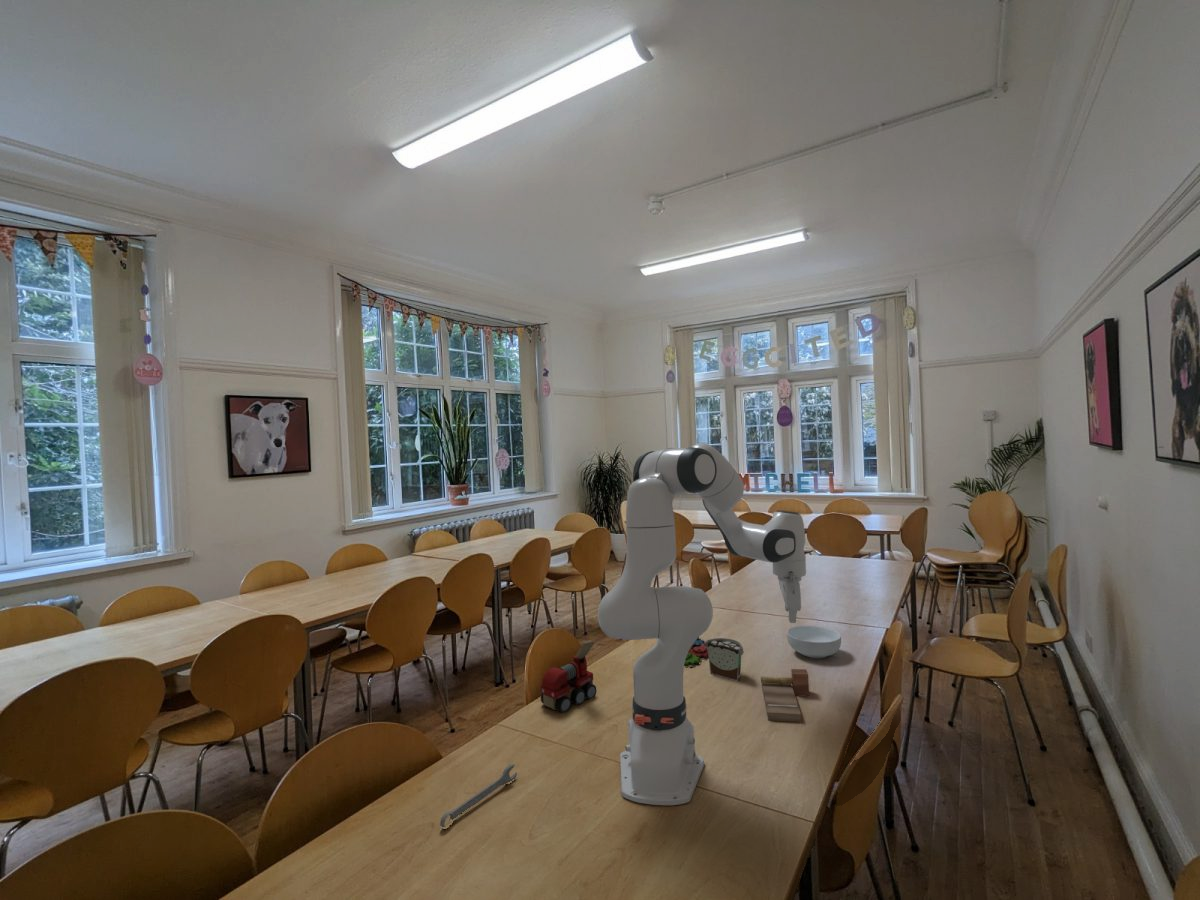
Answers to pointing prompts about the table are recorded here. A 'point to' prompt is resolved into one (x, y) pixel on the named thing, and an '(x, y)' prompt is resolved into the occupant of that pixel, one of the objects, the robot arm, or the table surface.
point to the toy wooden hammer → (792, 681)
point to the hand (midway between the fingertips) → (790, 616)
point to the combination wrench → (480, 795)
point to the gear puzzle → (696, 653)
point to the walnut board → (780, 702)
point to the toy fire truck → (569, 682)
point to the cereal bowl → (814, 640)
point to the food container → (725, 657)
